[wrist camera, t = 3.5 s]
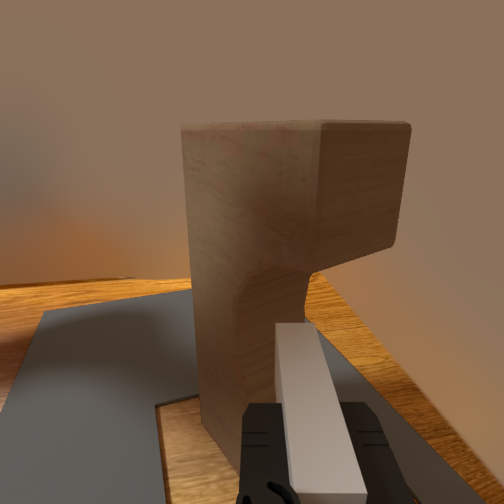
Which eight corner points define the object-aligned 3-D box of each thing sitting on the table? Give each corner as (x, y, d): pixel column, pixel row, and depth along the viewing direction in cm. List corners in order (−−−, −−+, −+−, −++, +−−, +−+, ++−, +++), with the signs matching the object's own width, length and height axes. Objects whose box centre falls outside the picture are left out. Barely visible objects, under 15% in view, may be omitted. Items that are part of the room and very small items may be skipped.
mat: (45, 313, 58) (44, 311, 58) (266, 279, 71) (266, 277, 71) (-207, 906, 14) (-212, 903, 14) (503, 525, 27) (505, 522, 27)
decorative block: (359, 496, 29) (416, 121, 19) (294, 557, 25) (321, 119, 15) (255, 392, 40) (256, 124, 30) (199, 422, 36) (177, 124, 26)
